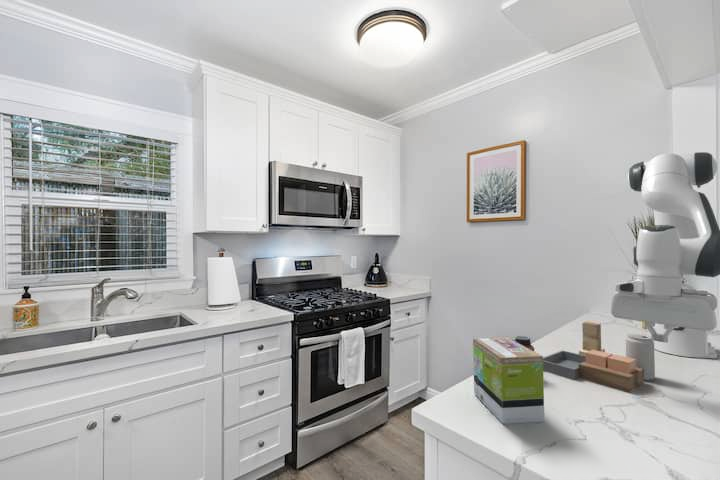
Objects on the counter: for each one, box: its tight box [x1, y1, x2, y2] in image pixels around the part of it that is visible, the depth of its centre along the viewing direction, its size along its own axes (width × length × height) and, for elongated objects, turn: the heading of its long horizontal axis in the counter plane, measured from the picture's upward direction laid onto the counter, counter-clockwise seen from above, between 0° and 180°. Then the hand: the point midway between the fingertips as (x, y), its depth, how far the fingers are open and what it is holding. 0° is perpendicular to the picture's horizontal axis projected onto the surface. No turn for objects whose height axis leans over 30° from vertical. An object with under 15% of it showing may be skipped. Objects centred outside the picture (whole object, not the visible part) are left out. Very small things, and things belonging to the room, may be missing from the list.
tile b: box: [608, 354, 636, 374], centre depth 93 cm, size 5×5×3 cm
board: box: [578, 361, 645, 394], centre depth 95 cm, size 11×12×4 cm
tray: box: [543, 349, 586, 381], centre depth 104 cm, size 16×10×3 cm, turn 125°
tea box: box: [472, 336, 545, 425], centre depth 80 cm, size 15×10×15 cm
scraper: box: [578, 321, 606, 356], centre depth 114 cm, size 10×4×12 cm, turn 125°
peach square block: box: [586, 350, 613, 368], centre depth 98 cm, size 5×5×3 cm
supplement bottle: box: [514, 335, 535, 352], centre depth 99 cm, size 6×6×11 cm
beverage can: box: [625, 333, 656, 382], centre depth 98 cm, size 6×6×12 cm
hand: (659, 341), depth 86 cm, fingers closed
